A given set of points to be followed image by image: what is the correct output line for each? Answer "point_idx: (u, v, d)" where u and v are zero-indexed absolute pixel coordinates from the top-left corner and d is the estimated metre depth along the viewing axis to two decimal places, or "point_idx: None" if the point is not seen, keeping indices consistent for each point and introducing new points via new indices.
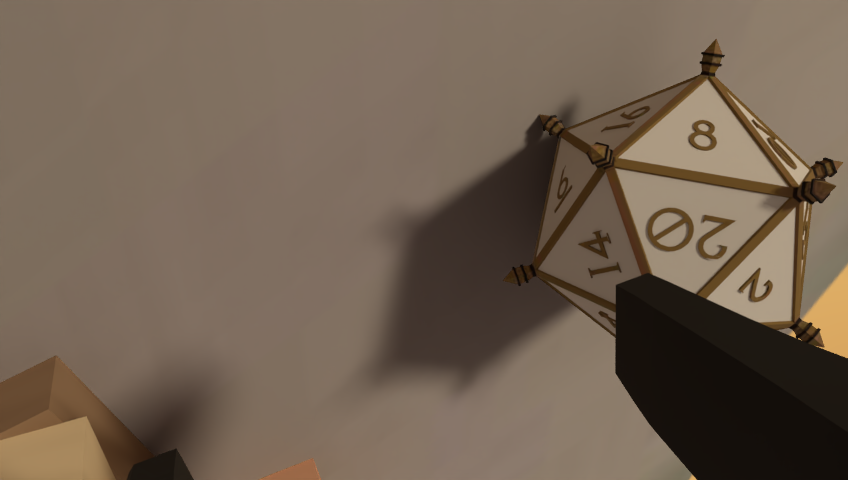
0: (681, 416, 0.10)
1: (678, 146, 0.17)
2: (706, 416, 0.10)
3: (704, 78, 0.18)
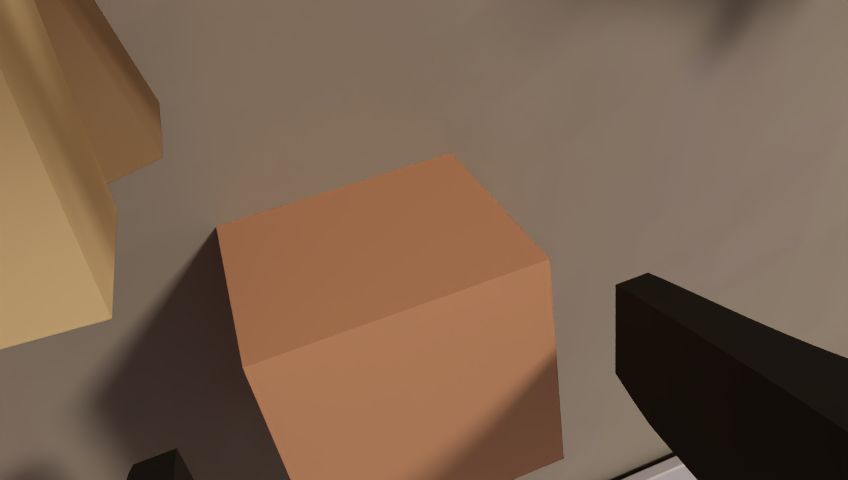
0: (681, 416, 0.10)
1: None
2: (706, 416, 0.10)
3: None
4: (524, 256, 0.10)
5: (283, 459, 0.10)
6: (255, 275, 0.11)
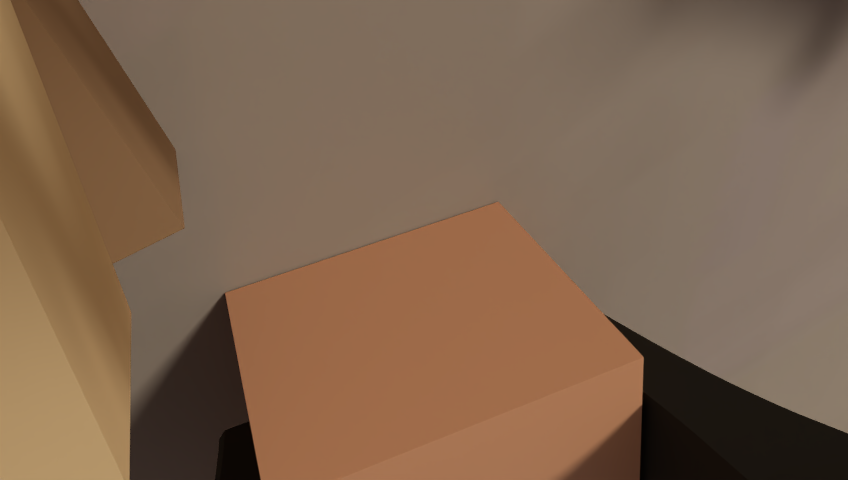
0: None
1: None
2: None
3: None
4: (610, 352, 0.08)
5: None
6: (275, 368, 0.09)
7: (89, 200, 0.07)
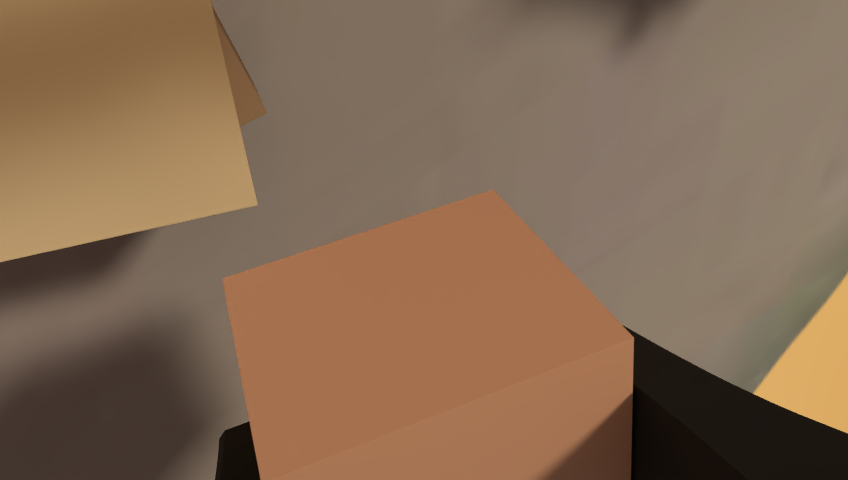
0: None
1: None
2: None
3: None
4: (601, 332, 0.08)
5: None
6: (271, 350, 0.09)
7: None
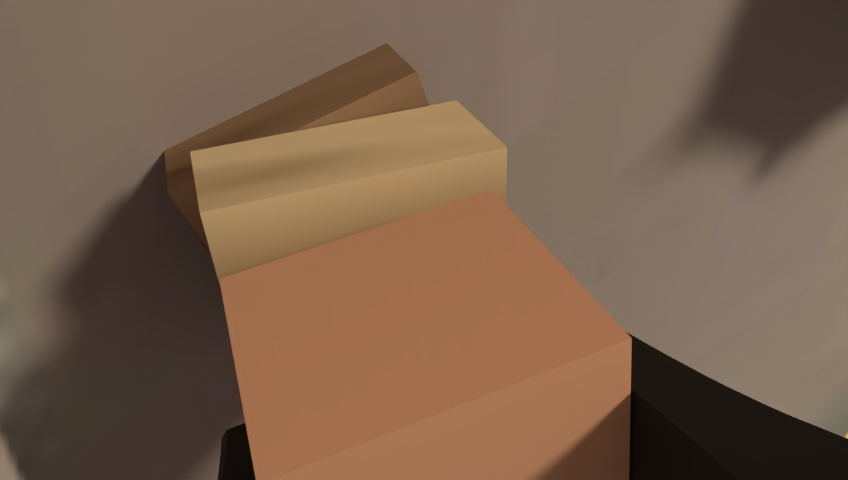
0: None
1: None
2: None
3: None
4: (599, 333, 0.08)
5: None
6: (267, 351, 0.09)
7: None
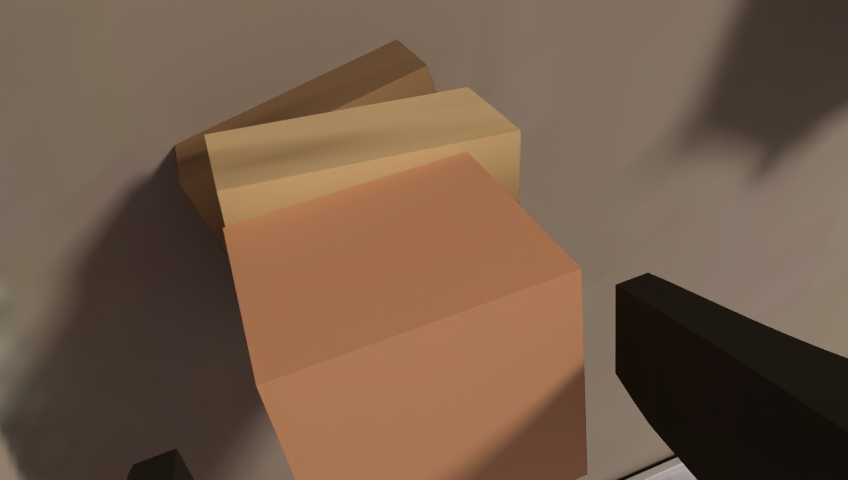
0: (681, 416, 0.10)
1: None
2: (706, 416, 0.10)
3: None
4: (554, 265, 0.10)
5: None
6: (266, 284, 0.10)
7: None
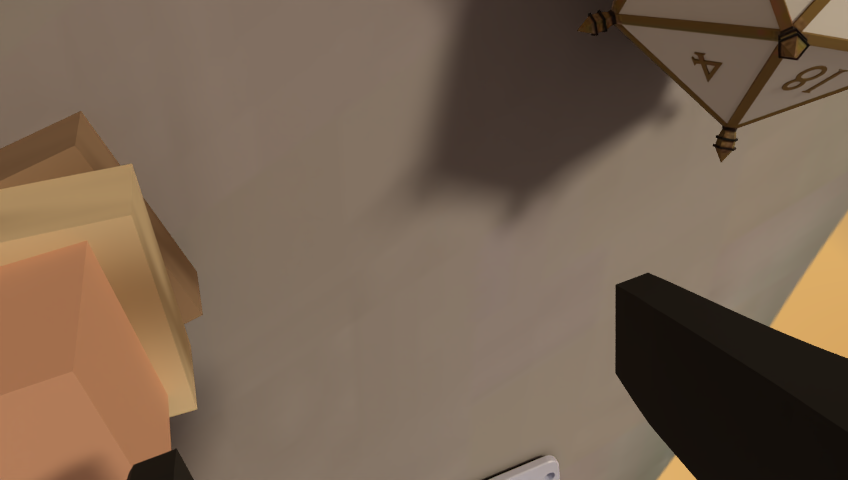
0: (681, 416, 0.10)
1: None
2: (706, 416, 0.10)
3: None
4: (55, 367, 0.11)
5: None
6: None
7: None
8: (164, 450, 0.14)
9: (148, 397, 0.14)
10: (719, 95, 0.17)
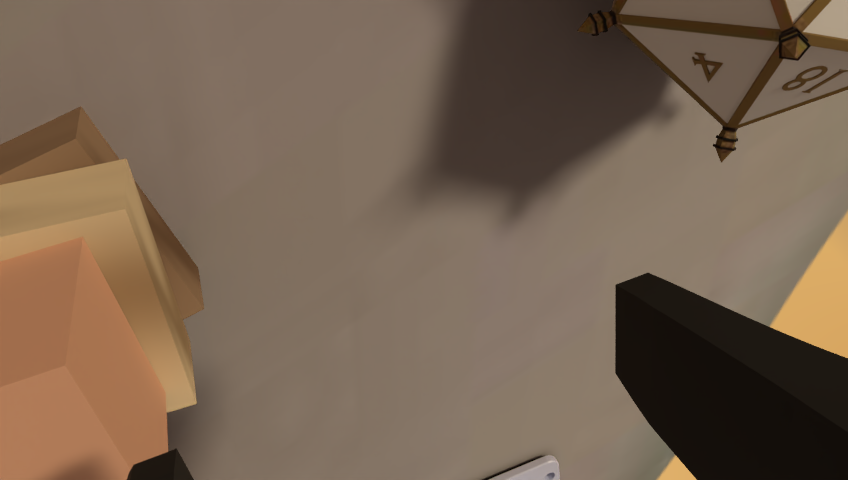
0: (681, 416, 0.10)
1: None
2: (706, 416, 0.10)
3: None
4: (47, 361, 0.11)
5: None
6: None
7: None
8: (161, 447, 0.14)
9: (144, 394, 0.14)
10: (719, 95, 0.17)
